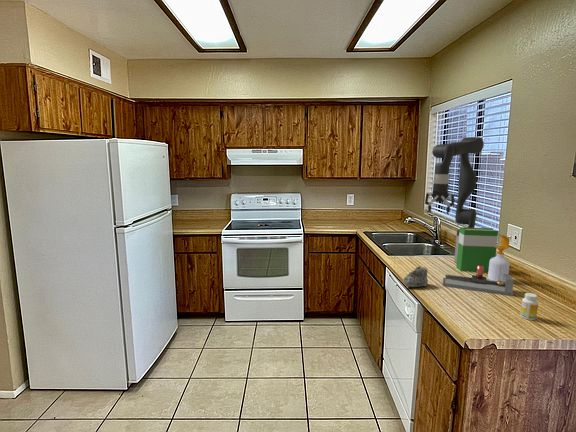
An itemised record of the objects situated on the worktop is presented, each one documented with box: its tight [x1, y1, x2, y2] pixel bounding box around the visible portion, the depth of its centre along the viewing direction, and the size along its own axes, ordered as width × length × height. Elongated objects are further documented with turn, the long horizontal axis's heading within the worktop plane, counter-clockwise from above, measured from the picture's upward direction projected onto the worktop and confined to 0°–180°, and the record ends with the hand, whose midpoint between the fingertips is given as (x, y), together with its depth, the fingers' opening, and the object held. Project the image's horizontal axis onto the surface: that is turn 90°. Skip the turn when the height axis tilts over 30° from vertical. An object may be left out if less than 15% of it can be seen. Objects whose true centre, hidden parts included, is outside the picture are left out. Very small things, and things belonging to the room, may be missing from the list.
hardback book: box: [455, 226, 499, 273], centre depth 198 cm, size 18×7×24 cm, turn 82°
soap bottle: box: [487, 233, 511, 282], centre depth 181 cm, size 9×9×25 cm
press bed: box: [442, 274, 514, 297], centre depth 171 cm, size 9×30×8 cm, turn 65°
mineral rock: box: [403, 266, 429, 288], centre depth 173 cm, size 13×11×10 cm
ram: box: [471, 265, 488, 284], centre depth 170 cm, size 6×6×10 cm
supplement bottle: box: [519, 292, 539, 321], centre depth 139 cm, size 5×5×10 cm
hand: (438, 212), depth 187 cm, fingers open, 8 cm apart
